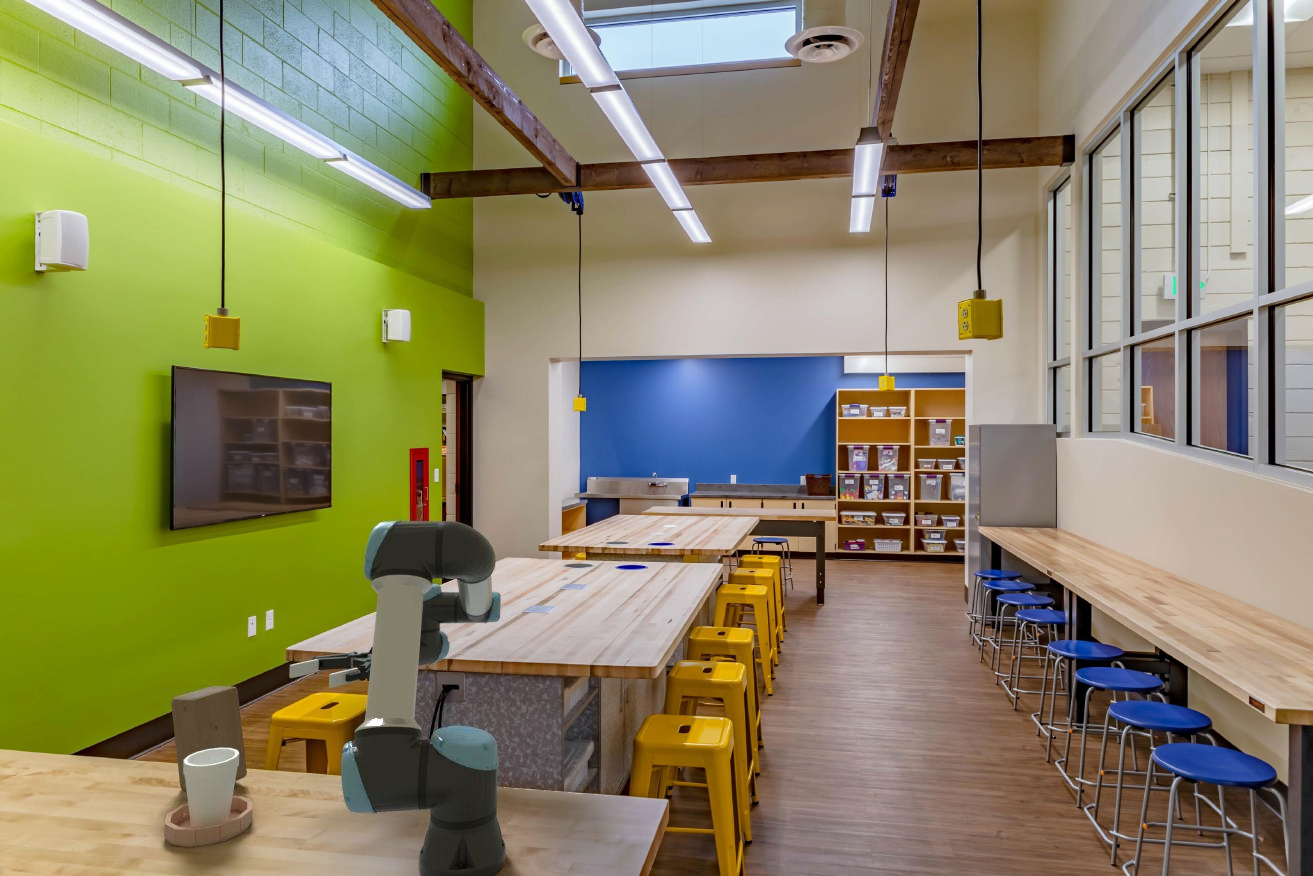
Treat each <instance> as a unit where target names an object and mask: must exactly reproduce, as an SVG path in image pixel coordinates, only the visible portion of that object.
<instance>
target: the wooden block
mask: <svg viewBox="0 0 1313 876" xmlns="http://www.w3.org/2000/svg"><path fill="white" fill-rule="evenodd" d="M170 704H171V714H172V721H173V724H172V725H173V730H174V731H173V732H174V741H175V742H174V743H175V750H176V751H175V752H176V760H177V769H178V779H179V787H180V789H181V790H182V791H186V792H187V790H186V781H185V776H184V773H183V762H184V759H185V758H186V757H187V756H189V755H191V754H193V753H196V752H199V751H203V750H207V749H214V748H232V749H236V750H238V752H239V766H238V767H237V773H236V779H235V782H237V781H240V780H241V779H243V778H246V776H247V775H248V770H247V762H246V752H245V744H244V736H243V727H242V726H243V725H242V717H241V708H240V698H239V690H238V688H237V687H236V686H229V685H227V686H225V685H212V686H208V687H205V688H204V687H203V688H202V689H201V688H200V689H198V690H194V691H191V692H187V693H184V694H181V695H177V696H175V697H173V698H172V699H171V701H170Z"/></svg>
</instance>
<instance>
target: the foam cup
mask: <svg viewBox="0 0 1313 876" xmlns="http://www.w3.org/2000/svg"><path fill="white" fill-rule="evenodd" d="M238 766H239V752H238V750H236V749H232V748H214V749H207V750H203V751H199V752H196V753H193V754H191V755H189V756H187V757H186V758H185V759H184V762H183V773H184V776H185V781H186V790H187V791H186V790H185V791H186V796H187V803H188V806H189V814H190V823H191V828H199V827H205V826H211V825H217V824H220V823H223V822H226V821H228V819H229V815H230V809H231V803H232V797H233V796H234V789H235V784H236V781H235V779H236V773H237V767H238Z"/></svg>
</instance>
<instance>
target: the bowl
mask: <svg viewBox="0 0 1313 876" xmlns="http://www.w3.org/2000/svg"><path fill="white" fill-rule="evenodd" d="M186 803H187V804H186ZM186 803H184V804H180V805H179V806H177V807H176V808H174V809H173V810H172V811H169V813H167V814H166V816H165V820H164V831H163V834H164V835H163V836H164V837H165V838H164V839H165V841H166V842H167V843H168V844H169V845H171V846H175V847H182V848H198V847H205V846H210V845H211V846H212V845H216V844H219V843H223V842H225V841H228V840H231V839H233V838H235V837H237V836H239V835H241V834H243V832H245V831H247V830H248V829H249V827H250V826H251V824H252V822H253V800H251V799H249V798H247V797H245V796H243V795H233V797H232V803H231V809H230V815H229V819H228V821H226V822H223V823H220V824H217V825H211V826H205V827H199V828H191V823H190V814H189V806H188V802H186ZM183 813H185V816H184V818H183Z"/></svg>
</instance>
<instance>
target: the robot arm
mask: <svg viewBox="0 0 1313 876" xmlns="http://www.w3.org/2000/svg"><path fill="white" fill-rule="evenodd" d="M495 568H496V554H495V550H494V548H493V546H492V544H491V543H490V540H488V539H487V538H486V536H484V534H482V533H481V532H480V531H478V530H477V529H475V528H473V527H471V526H470V525H467V524H465V523H462V522H460V521H459V522H458V521H453V520H445V521H441V520H440V521H439V520H438V521H437V520H436V521H435V520H429V521H428V520H423V521H421V520H402V519H401V520H400V519H399V520H394V521H382V522H381V521H380V522H378V523H377V524H376V525H375V526H374V527H373V529H372V530H371V533H370V534H369V537H368V539H367V545H366V547H365V554H364V563H363V572H364V577H365V578H366V579H367V580H369V581H371V582H370V586H371V588H372V589H373V590H374V592H375V593H376V594H377V601H376V602H377V603H376V613H375V623H374V632H373V642H372V646H371V648H370V649H369V651H367V652H366V651H365V652H364V651H363V652H360V653H358V651H352V652H346V653H339V654H338V653H337V654H336V653H335V654H330V655H329V654H327V655H318V656H316V655H315V656H312V659H311V660H307V661H301V662H297V663H293V664H289V676H288V677H289V678H290V679H293V678H297V677H298V678H299V677H303V676H306V675H310V674H315V675H317V674H318V673H319V671H326V670H327V671H328V670H340V671H337V672H333V673H329V678H328V679H329V680H328V687H329V688H330V689H332V688H336V687H339V686H344V685H348V684H352V683H356V682H358V681H361V682H364V681H365V680H366V682H368V688H367V699H366V707H365V708H366V709H365V718H364V721H363V723H361V724H360V725H359V726H358V727H357V728H356V729H355V731H354V737H353V740H351V741H349V742H345V744H344V745H343V747H342V755H341V765H340V766H341V767H340V768H341V769H340V770H341V771H340V772H341V773H340V775H341V789H342V796H343V800H344V803H345V806H346V808H347V809H348V810H349V811H350V812H352V813H355V814H356V813H358V814H364V813H365V814H366V813H368V814H370V813H372V814H373V815H375V814H376V815H377V813H387V812H401V811H417V810H418V811H419V810H429V811H430V813H429V815H430V817H429V818H430V819H429V820H430V821H429V825H428V828H427V831H426V835H425V838H424V841H423V842H424V843H423V846H422V847H421V849H420V851H419V857H418V859H419V860H418V871H419V874H420V876H494V875H496V874H497V873H499V872H500V871H501V870H502V868H504V866H505V864H506V857H507V856H506V852H507V848H506V842H505V840H504V839H503V835H502V830H501V827H500V824H499V821H498V816H497V815H498V814H497V808H498V807H497V805H498V767H499V763H500V760H499V759H498V753H499V752H498V743H497V740H496V739H495V737H494V736H493V735H492V734H491V733H490V732H488V731H485V730H484V729H481V728H478V727H474V726H469V725H468V726H466V725H449V726H447V727H440V728H438V729H436V730H434V732H433V733H432V735H431V737H430V738H425V739H424V738H422V734H423V733H422V732H423V729H422V727H421V726H420V725H419V724H418V723H417V721H416V720H415V716H416V715H415V713H416V698H417V690H418V689H417V687H418V673H419V667H423V666H427V665H429V666H430V665H431V664H434V663H439V662H440V661H442V660H444V659H446V657H447V656H448V655H449V654H448V653H449V652H450V641H449V640H448V639H449V637H448V635H447V633H445V632H444V631H442V630H441V624H479V623H480V624H487V623H496V622H499V621H500V619H501V606H502V605H501V603H502V602H501V600H502V599H501V597H502V595H501V593H500V592H498V591H493V587H492V586H493V585H492V583H493V582H492V574H493V573H494V571H495ZM433 579H456V582H457V587H458V592H457V591H456V592H455V591H453V592H452V591H451V592H449V591H442V586H441V585H440V584H437V583H433ZM342 669H343V670H342ZM341 670H342V671H341Z"/></svg>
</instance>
